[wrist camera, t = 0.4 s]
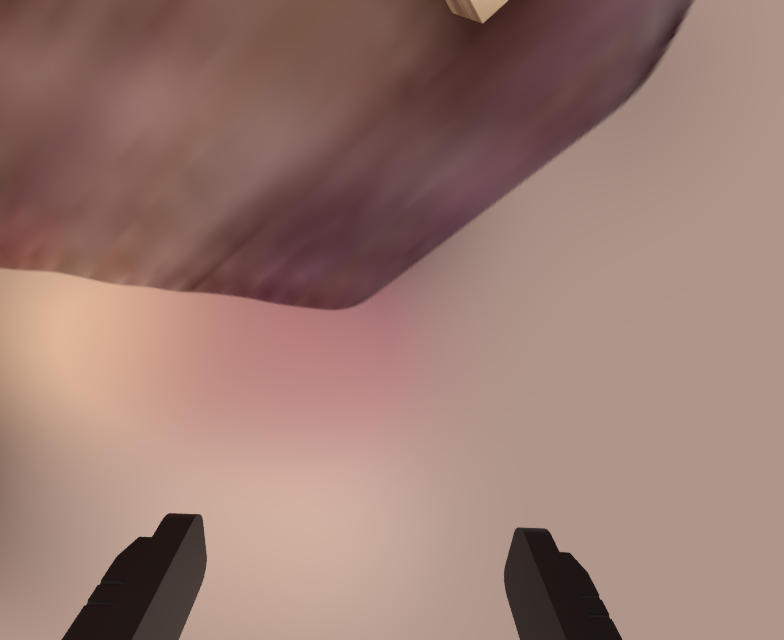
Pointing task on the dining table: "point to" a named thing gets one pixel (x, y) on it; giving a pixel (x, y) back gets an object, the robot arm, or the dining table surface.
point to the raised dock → (475, 8)
